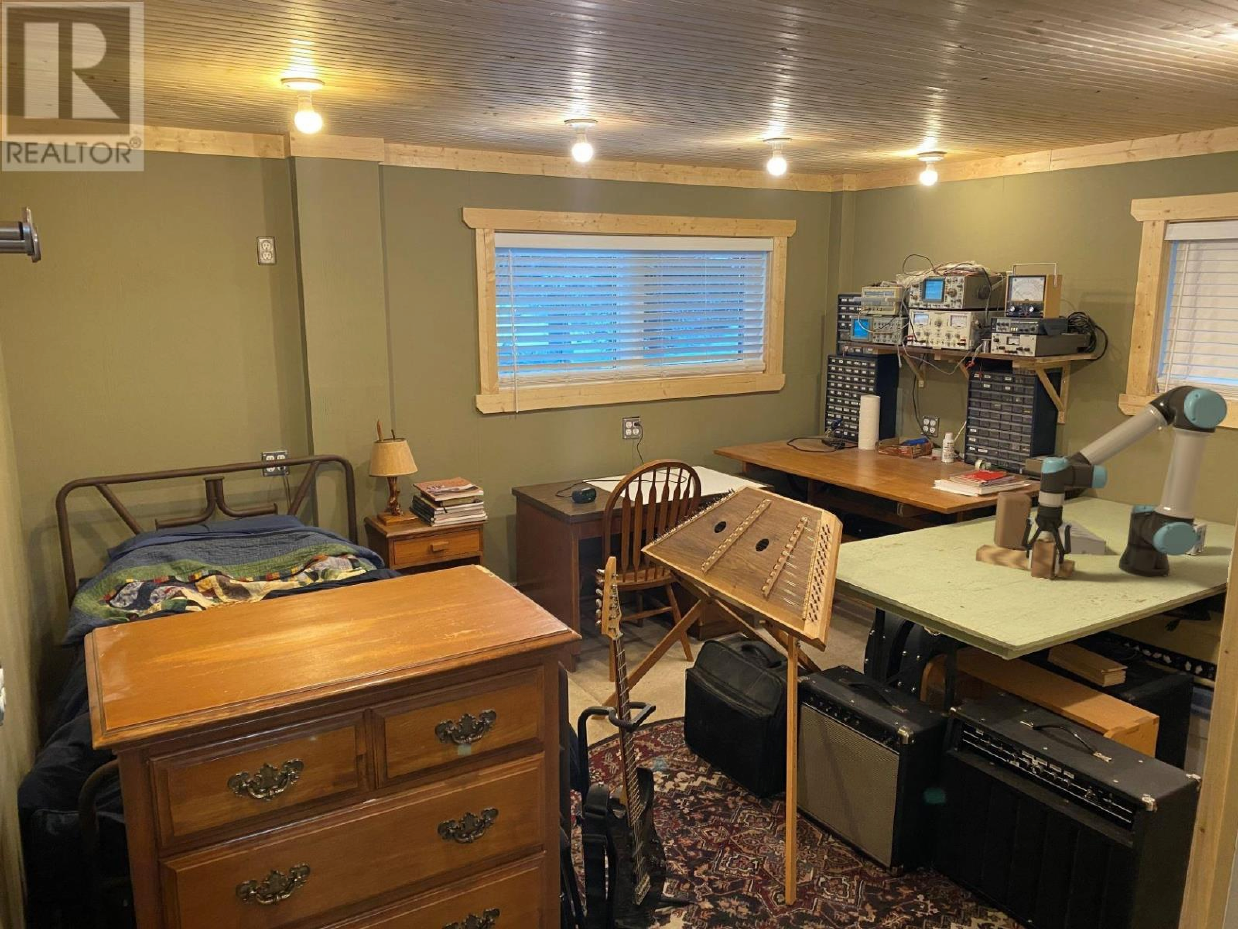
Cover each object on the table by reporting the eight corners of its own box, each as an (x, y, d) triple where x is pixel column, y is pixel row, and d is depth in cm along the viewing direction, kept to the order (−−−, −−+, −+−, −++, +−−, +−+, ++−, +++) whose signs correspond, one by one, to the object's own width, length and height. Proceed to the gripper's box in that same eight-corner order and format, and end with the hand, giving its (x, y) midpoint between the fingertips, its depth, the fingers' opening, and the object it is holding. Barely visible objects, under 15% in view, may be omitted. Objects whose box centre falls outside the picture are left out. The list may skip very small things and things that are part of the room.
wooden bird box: (1061, 570, 301) (1065, 533, 299) (1050, 580, 290) (1054, 542, 287) (1042, 566, 305) (1046, 530, 303) (1030, 576, 294) (1034, 538, 291)
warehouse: (1104, 556, 319) (1106, 536, 318) (1063, 554, 321) (1065, 534, 320) (1072, 534, 349) (1074, 516, 347) (1034, 533, 350) (1036, 514, 349)
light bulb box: (1193, 556, 320) (1197, 528, 318) (1173, 552, 325) (1177, 524, 323) (1203, 551, 327) (1208, 523, 325) (1183, 547, 332) (1187, 519, 330)
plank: (1074, 572, 299) (1075, 560, 298) (1067, 578, 292) (1069, 566, 292) (983, 555, 318) (984, 544, 317) (975, 560, 311) (976, 549, 310)
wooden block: (1027, 551, 324) (1032, 498, 320) (998, 549, 326) (1003, 496, 322) (1020, 543, 333) (1025, 492, 329) (992, 542, 335) (997, 491, 331)
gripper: (1087, 507, 286) (1079, 574, 290) (1021, 497, 298) (1014, 561, 303) (1082, 511, 280) (1074, 579, 285) (1014, 501, 293) (1008, 566, 297)
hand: (1043, 570), depth 294 cm, fingers open, 8 cm apart
